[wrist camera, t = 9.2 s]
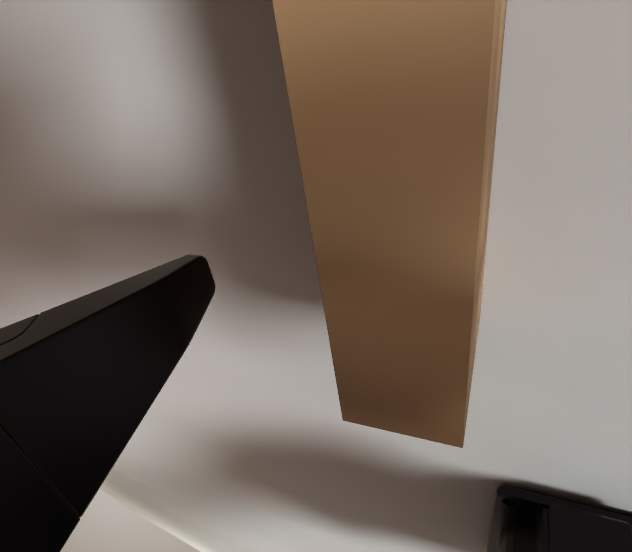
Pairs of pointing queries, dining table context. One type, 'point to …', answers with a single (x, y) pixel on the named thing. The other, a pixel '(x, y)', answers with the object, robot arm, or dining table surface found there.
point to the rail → (397, 194)
